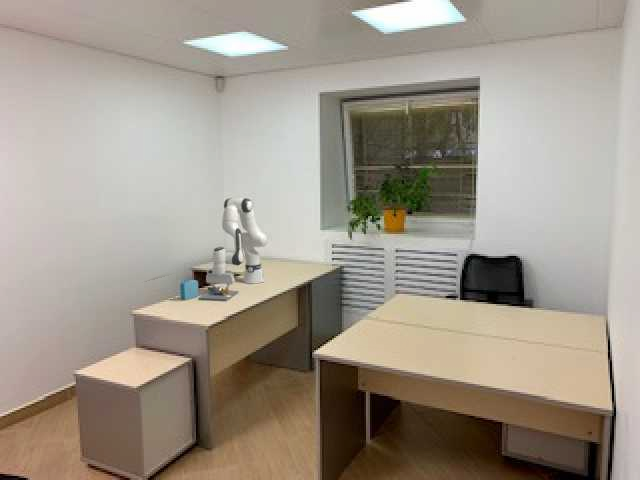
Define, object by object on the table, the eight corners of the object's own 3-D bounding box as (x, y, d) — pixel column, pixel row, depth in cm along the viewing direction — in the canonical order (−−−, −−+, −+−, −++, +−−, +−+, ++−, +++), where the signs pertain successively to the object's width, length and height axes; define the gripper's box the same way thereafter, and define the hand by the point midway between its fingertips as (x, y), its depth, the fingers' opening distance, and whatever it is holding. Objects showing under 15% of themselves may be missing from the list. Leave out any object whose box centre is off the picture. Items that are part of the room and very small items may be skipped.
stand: (212, 291, 353) (212, 288, 352) (239, 293, 348) (239, 290, 348) (198, 299, 331) (198, 296, 331) (227, 301, 327) (227, 298, 327)
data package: (194, 296, 342) (193, 279, 340) (198, 296, 339) (198, 280, 338) (180, 299, 332) (179, 282, 330) (185, 300, 330) (184, 283, 328)
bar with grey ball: (205, 293, 342) (205, 286, 342) (211, 291, 347) (211, 284, 347) (226, 296, 332) (226, 289, 331) (232, 294, 337) (232, 287, 336)
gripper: (235, 270, 343) (236, 289, 345) (208, 269, 348) (209, 287, 350) (232, 271, 337) (232, 291, 339) (204, 271, 341) (205, 290, 343)
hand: (220, 289), depth 344 cm, fingers open, 8 cm apart
